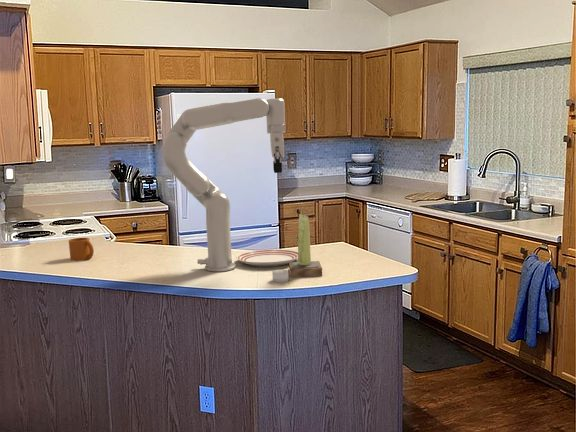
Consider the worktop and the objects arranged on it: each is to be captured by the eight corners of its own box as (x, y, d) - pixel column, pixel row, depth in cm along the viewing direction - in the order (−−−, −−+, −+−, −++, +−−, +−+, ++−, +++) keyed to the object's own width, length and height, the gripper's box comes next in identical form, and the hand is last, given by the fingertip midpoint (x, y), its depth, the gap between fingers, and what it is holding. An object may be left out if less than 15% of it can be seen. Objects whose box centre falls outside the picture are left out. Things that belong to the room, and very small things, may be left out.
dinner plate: (229, 259, 272) (228, 251, 271) (287, 252, 281) (287, 245, 280) (247, 273, 246) (247, 265, 246) (311, 265, 256) (311, 257, 255)
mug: (82, 262, 274) (80, 242, 273) (66, 260, 281) (64, 240, 280) (99, 258, 281) (97, 238, 280) (83, 255, 288) (81, 236, 287)
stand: (290, 277, 237) (290, 268, 237) (289, 269, 249) (289, 261, 248) (322, 275, 238) (322, 267, 237) (319, 268, 249) (319, 260, 249)
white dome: (272, 283, 230) (272, 273, 229) (272, 278, 236) (272, 269, 235) (288, 282, 230) (288, 273, 230) (288, 278, 236) (288, 269, 236)
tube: (314, 263, 244) (312, 214, 241) (309, 266, 239) (308, 216, 236) (300, 262, 246) (299, 213, 243) (296, 265, 242) (294, 215, 239)
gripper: (286, 129, 244) (287, 173, 246) (284, 128, 261) (286, 169, 263) (267, 130, 243) (268, 173, 246) (266, 129, 260) (268, 170, 263)
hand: (277, 171), depth 255 cm, fingers open, 9 cm apart
